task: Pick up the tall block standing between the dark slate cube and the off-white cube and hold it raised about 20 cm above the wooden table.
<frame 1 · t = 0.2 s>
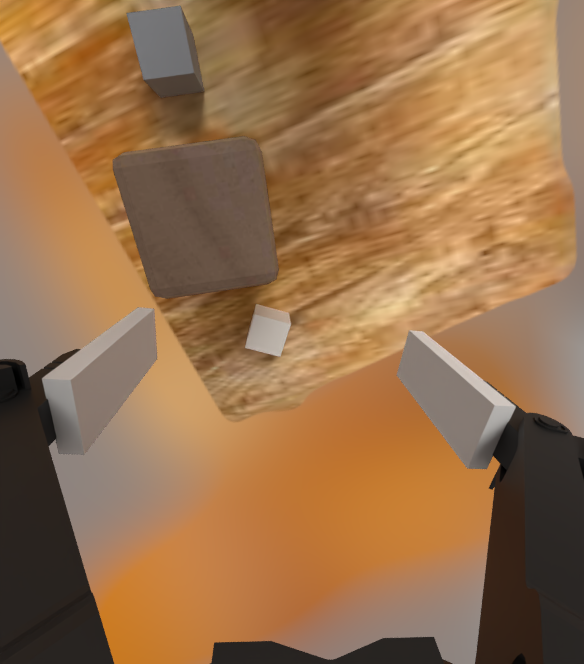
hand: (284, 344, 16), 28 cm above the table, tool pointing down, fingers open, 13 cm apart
slate cube: (176, 67, 33), on the table
white cube: (267, 323, 45), on the table
block: (232, 219, 39), on the table
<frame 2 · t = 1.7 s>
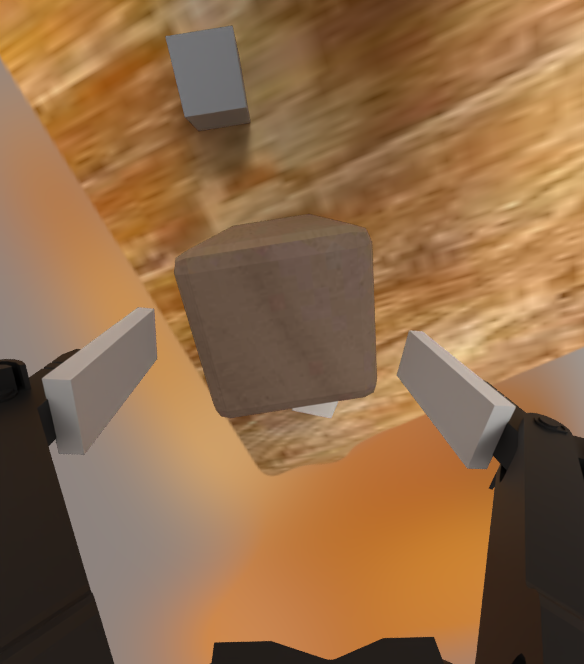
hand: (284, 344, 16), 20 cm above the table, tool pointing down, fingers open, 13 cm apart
slate cube: (218, 95, 28), on the table
white cube: (313, 375, 40), on the table
block: (278, 265, 34), on the table
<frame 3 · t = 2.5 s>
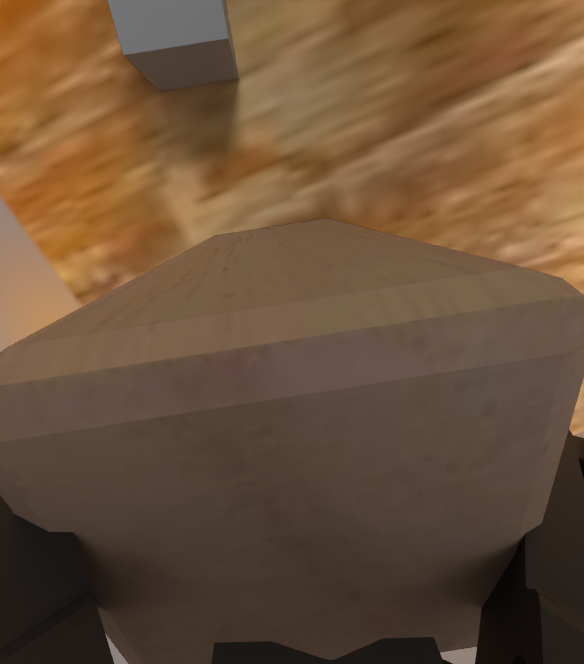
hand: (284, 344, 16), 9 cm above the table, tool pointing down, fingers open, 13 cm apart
slate cube: (188, 33, 18), on the table
block: (280, 290, 24), on the table
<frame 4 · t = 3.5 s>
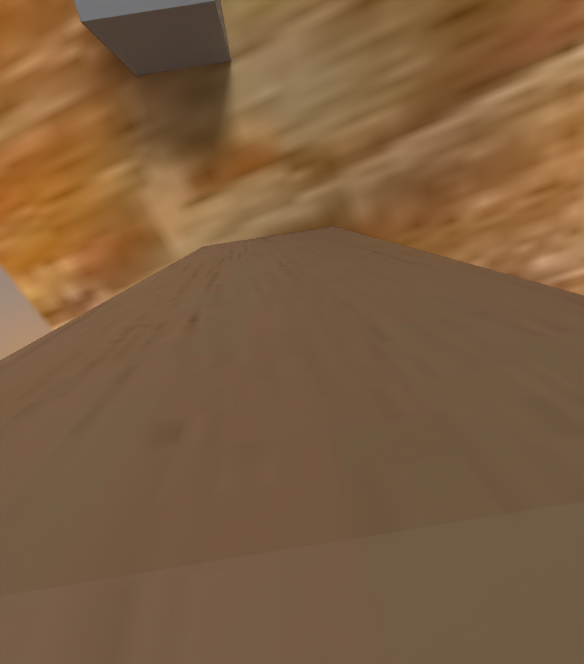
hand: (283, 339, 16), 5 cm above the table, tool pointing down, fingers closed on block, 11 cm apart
slate cube: (169, 5, 15), on the table
block: (280, 308, 21), on the table, touching gripper
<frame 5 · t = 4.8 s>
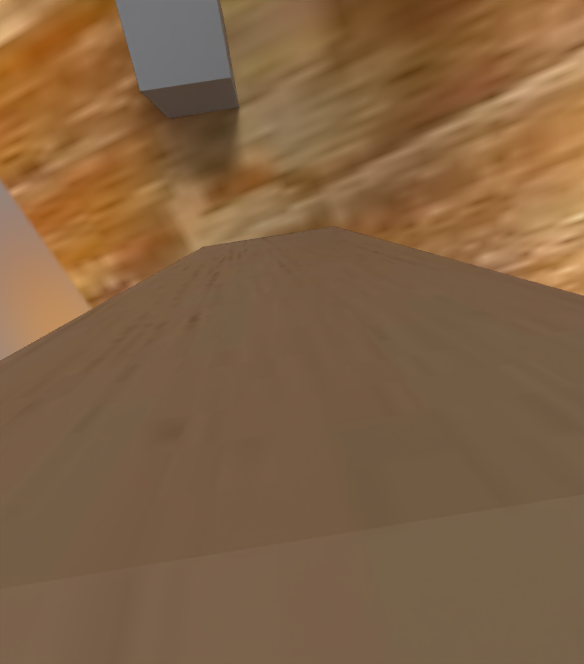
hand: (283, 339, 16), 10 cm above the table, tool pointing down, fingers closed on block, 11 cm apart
slate cube: (194, 69, 20), on the table
block: (280, 308, 21), point 5 cm above the table, touching gripper
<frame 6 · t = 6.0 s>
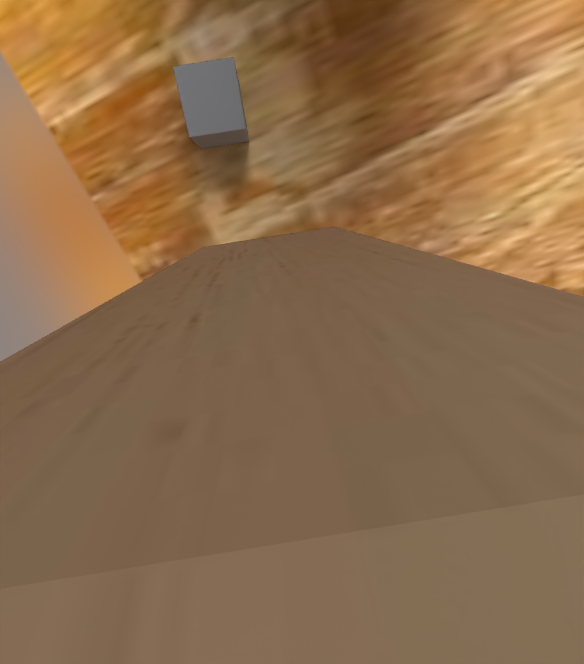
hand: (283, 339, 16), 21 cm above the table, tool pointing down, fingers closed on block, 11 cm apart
slate cube: (219, 116, 30), on the table
block: (281, 308, 21), point 16 cm above the table, touching gripper
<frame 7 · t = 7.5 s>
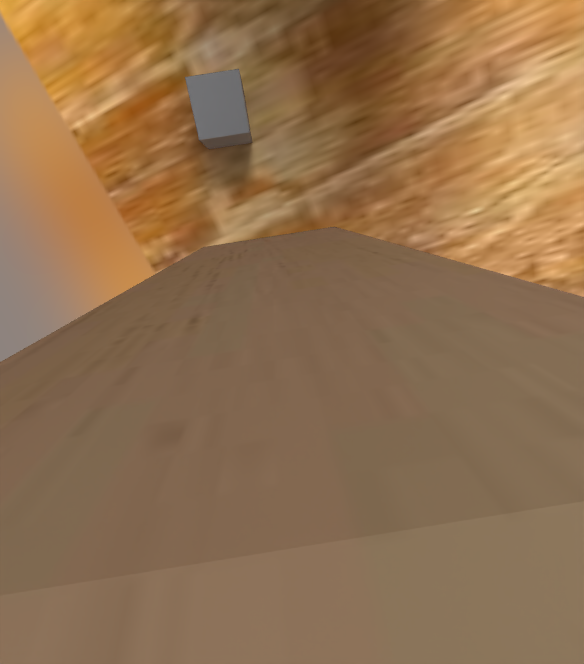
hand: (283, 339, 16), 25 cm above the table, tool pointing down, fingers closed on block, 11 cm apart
slate cube: (225, 120, 33), on the table
block: (281, 308, 21), point 20 cm above the table, touching gripper
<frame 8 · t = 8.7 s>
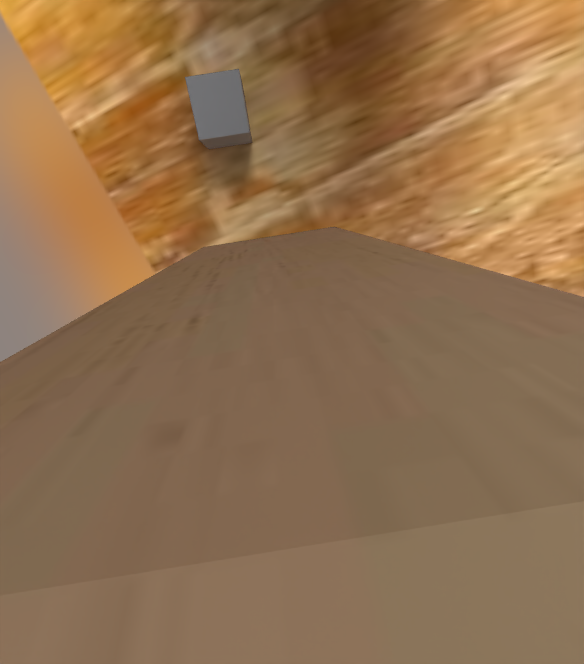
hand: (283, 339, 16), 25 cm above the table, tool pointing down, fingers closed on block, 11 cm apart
slate cube: (225, 120, 33), on the table
block: (281, 308, 21), point 20 cm above the table, touching gripper
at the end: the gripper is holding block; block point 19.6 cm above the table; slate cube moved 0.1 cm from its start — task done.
